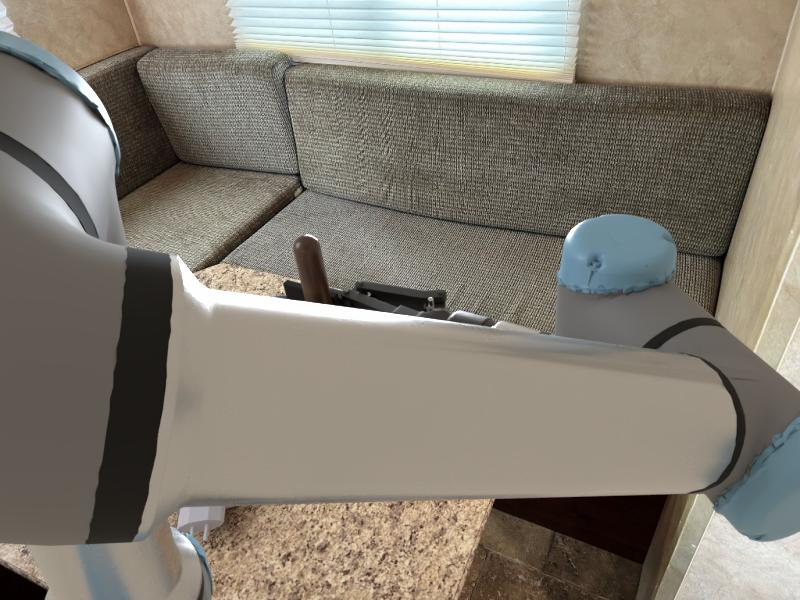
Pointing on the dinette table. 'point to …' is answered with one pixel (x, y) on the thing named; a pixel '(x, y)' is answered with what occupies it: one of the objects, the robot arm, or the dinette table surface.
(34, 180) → the robot arm
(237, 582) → the dinette table surface
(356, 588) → the dinette table surface
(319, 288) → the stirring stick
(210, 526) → the charger
